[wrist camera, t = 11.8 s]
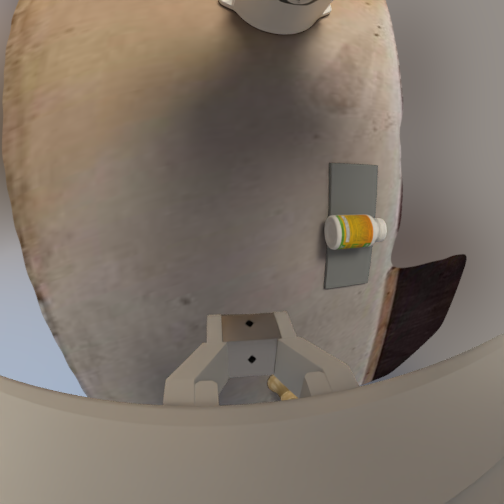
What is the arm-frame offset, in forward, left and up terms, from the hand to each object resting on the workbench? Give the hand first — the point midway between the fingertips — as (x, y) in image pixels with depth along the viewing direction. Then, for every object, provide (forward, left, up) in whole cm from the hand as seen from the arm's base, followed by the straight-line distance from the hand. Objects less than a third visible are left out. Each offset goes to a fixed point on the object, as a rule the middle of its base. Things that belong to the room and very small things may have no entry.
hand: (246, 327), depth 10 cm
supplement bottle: (+6, +17, -29) cm, 34 cm away
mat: (+6, +22, -33) cm, 40 cm away
